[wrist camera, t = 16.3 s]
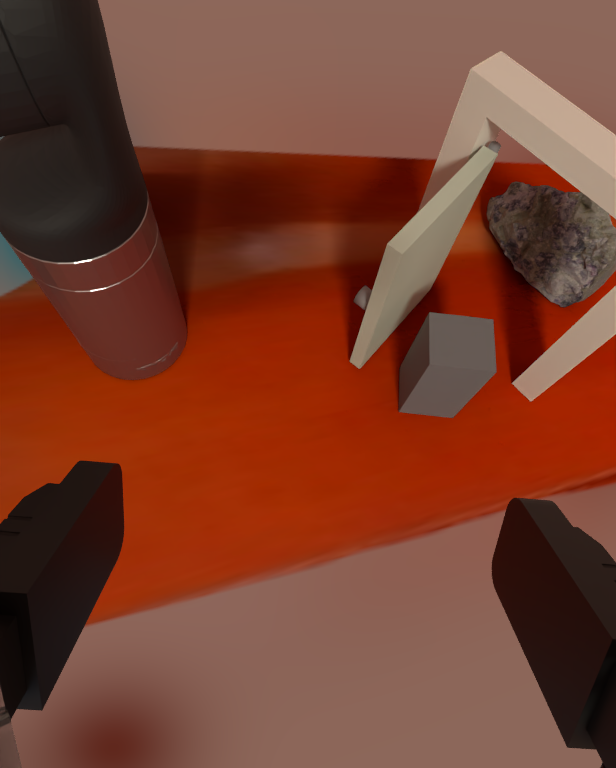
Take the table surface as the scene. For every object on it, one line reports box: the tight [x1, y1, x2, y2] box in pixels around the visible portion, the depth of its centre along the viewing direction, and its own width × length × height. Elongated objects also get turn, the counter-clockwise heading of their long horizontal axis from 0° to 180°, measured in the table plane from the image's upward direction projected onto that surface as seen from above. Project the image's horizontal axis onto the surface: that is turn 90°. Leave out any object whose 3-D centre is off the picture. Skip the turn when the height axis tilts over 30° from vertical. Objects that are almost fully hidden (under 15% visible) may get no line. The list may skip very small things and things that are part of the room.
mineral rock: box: [487, 182, 616, 307], centre depth 51 cm, size 13×11×10 cm
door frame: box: [418, 51, 616, 401], centre depth 41 cm, size 18×3×22 cm, turn 40°
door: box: [350, 141, 501, 369], centre depth 43 cm, size 13×3×17 cm, turn 140°
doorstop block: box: [399, 312, 496, 418], centre depth 44 cm, size 4×5×10 cm
